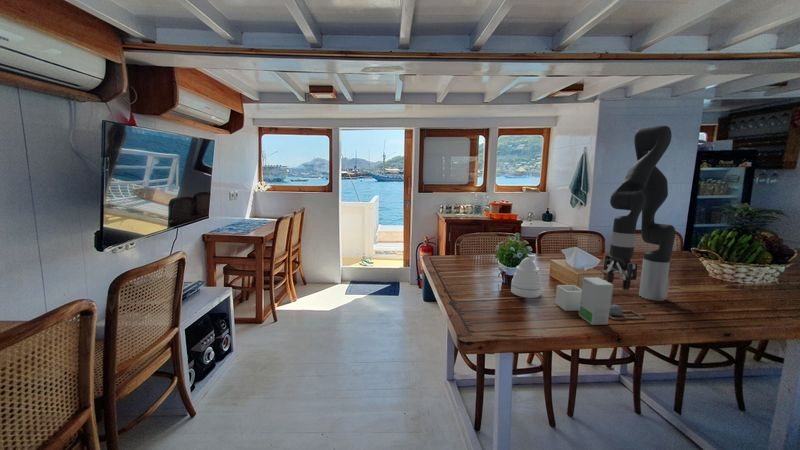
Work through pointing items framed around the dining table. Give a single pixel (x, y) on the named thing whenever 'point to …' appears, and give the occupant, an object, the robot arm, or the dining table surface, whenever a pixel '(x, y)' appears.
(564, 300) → the open square cup
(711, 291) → the dining table surface
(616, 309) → the ball slate
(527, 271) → the honey pot
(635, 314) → the rack
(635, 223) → the robot arm
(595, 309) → the skincare box
